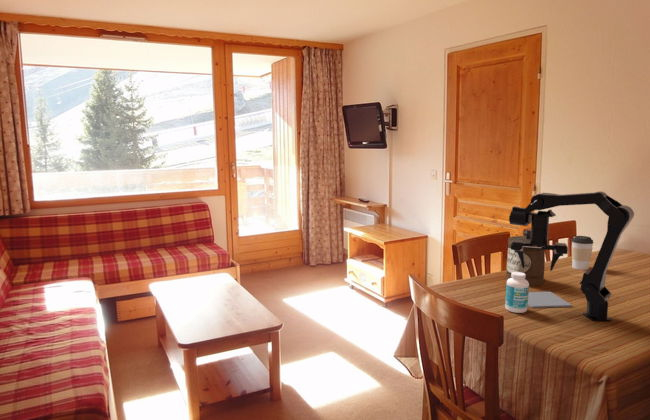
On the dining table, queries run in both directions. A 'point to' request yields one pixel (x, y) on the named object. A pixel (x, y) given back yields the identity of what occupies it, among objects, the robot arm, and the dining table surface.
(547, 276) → the dining table surface
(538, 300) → the slate mat
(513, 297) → the pill bottle
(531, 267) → the labeled lidded canister
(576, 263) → the coffee cup
